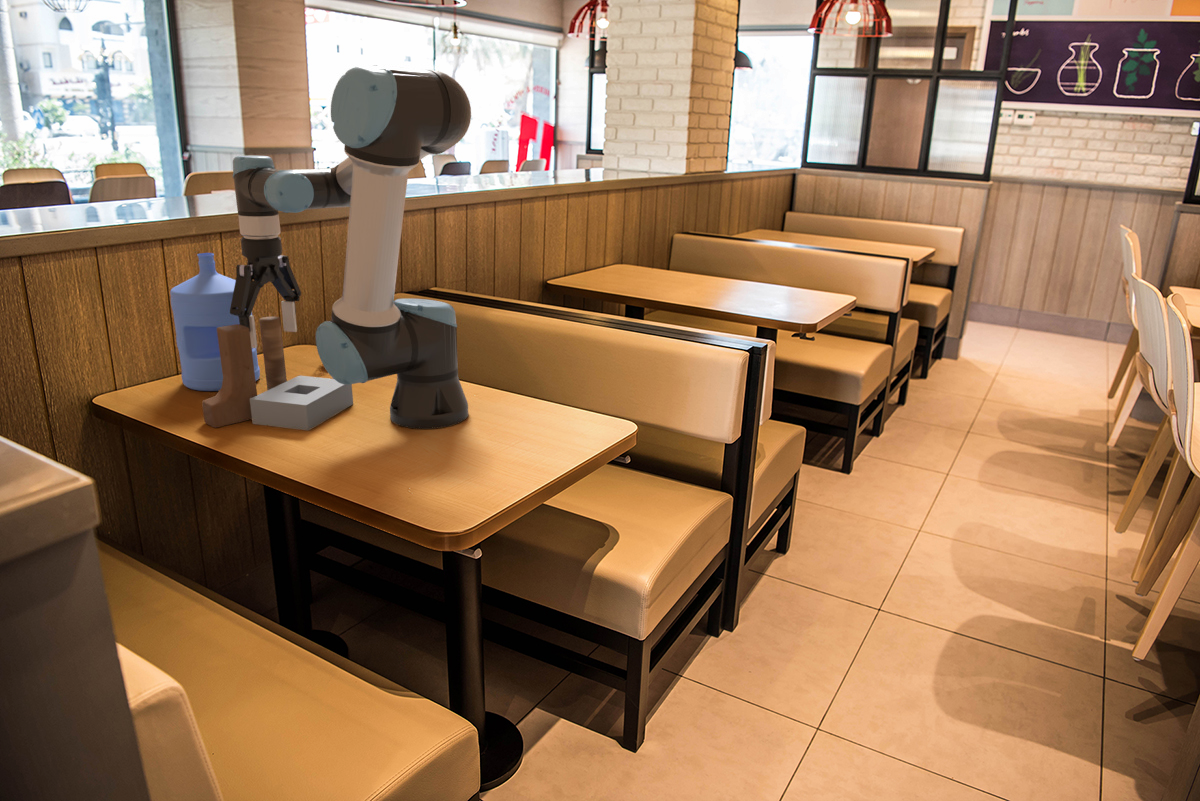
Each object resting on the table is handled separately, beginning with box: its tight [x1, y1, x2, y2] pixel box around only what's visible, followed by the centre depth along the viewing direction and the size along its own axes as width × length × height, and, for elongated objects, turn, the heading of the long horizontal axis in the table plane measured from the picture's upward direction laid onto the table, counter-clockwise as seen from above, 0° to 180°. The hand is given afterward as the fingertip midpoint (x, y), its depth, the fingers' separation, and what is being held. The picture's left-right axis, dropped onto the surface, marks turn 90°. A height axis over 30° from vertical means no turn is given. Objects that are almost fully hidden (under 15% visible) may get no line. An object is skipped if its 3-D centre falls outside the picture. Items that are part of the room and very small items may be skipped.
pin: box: [259, 316, 288, 391], centre depth 173 cm, size 4×4×16 cm
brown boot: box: [201, 324, 258, 429], centre depth 156 cm, size 9×4×18 cm, turn 137°
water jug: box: [169, 252, 261, 392], centre depth 177 cm, size 16×16×28 cm
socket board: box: [250, 375, 354, 431], centre depth 162 cm, size 16×12×5 cm
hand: (271, 339), depth 172 cm, fingers open, 13 cm apart
